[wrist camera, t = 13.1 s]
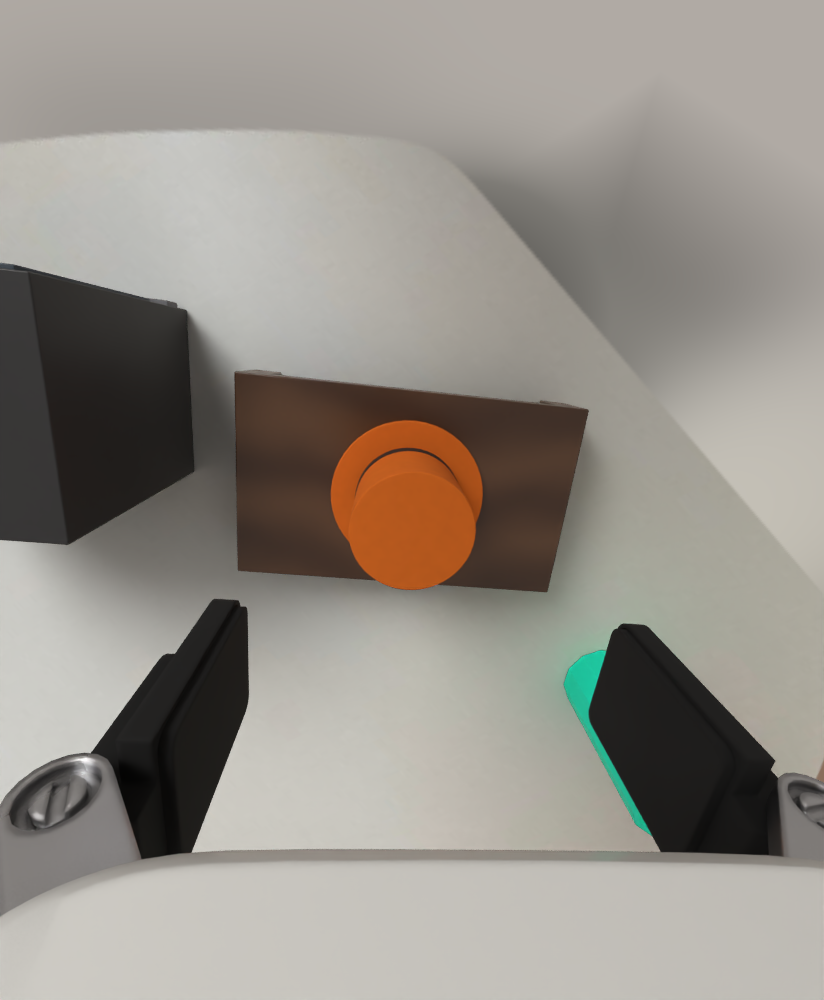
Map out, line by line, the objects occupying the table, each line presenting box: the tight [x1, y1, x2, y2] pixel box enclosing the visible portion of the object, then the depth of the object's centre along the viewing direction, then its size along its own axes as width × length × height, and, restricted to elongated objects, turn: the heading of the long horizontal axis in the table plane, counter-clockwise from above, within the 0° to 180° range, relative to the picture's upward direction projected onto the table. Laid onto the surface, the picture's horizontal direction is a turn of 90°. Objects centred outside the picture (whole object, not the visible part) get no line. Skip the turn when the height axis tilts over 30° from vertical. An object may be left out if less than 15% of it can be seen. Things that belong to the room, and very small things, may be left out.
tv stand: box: [235, 370, 589, 592], centre depth 28 cm, size 12×20×4 cm, turn 84°
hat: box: [331, 420, 483, 590], centre depth 23 cm, size 9×9×6 cm
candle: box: [564, 650, 652, 836], centre depth 30 cm, size 6×6×12 cm
